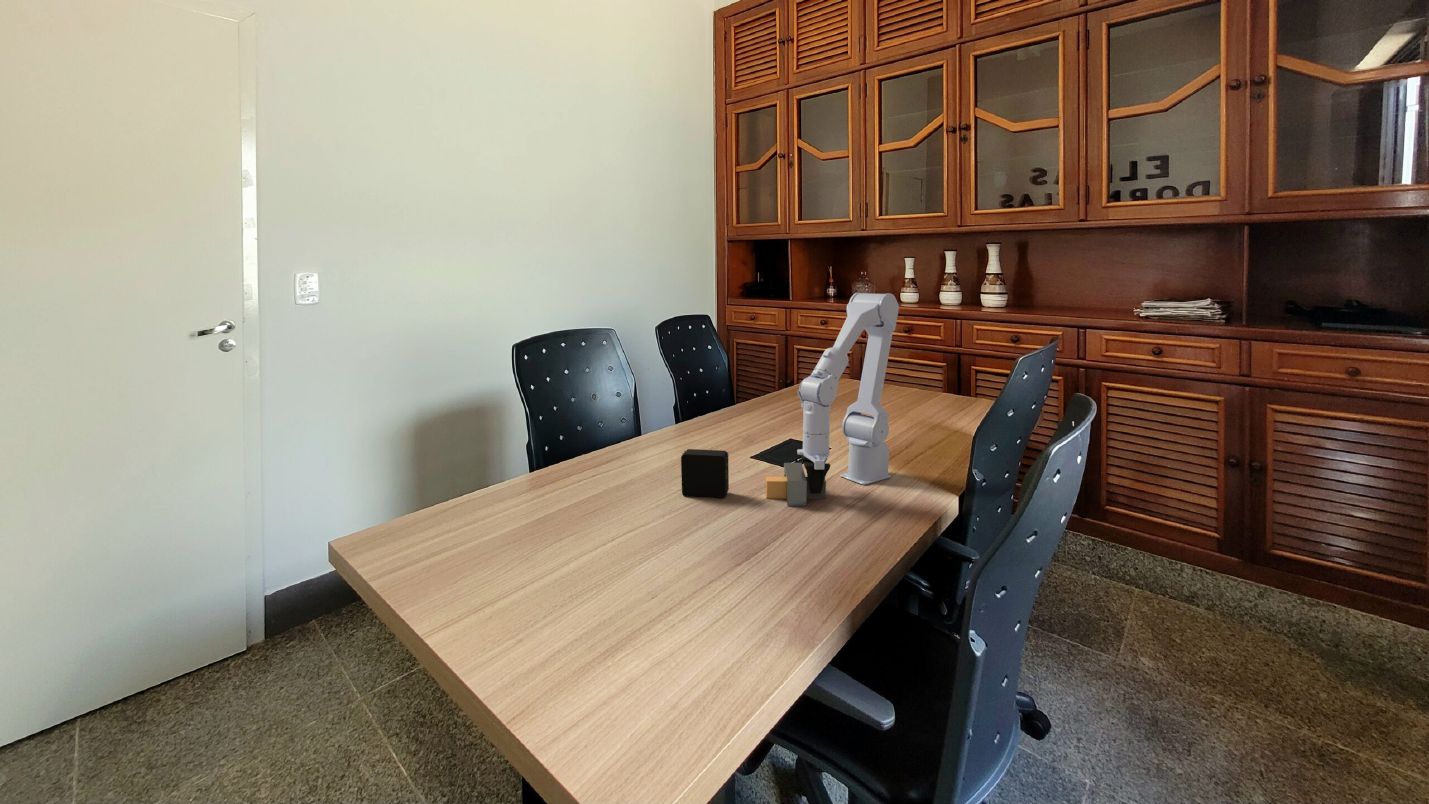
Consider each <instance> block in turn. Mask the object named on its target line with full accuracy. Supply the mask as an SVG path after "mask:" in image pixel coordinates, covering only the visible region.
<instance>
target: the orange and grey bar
mask: <svg viewBox="0 0 1429 804" xmlns="http://www.w3.org/2000/svg"><path fill="white" fill-rule="evenodd" d="M765 479H766V483H765V484H766V487H765V491H766V492H765V496H766V499H786V486H787V478H786V477H784V476H766V477H765ZM806 480H807V493H806V500H807V499H818V500H819V499H820V500H821V499H823V500H824V499H826V498H827V497H826V495H827V494H826V492H827V481H826V478H825V479H824V483H823V487H822V491H821V493H820V494H812V493H811V490H810V485H809V478H808V477H807V476H806Z"/></svg>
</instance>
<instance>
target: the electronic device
mask: <svg viewBox="0 0 1429 804" xmlns="http://www.w3.org/2000/svg"><path fill="white" fill-rule="evenodd" d="M680 467H681V468H680V471H681V474H680V475H681V494H682V496H683V497H686V498H699V499H700V498H703V499H717V500H722V499H725V498H726V496H727V494H728V492H729V489H730V488H729V478H730V477H729V474H730V473H729V471H730V470H729V452H727V451H726V450H721V449H720V450H719V449H718V450H716V449H715V450H714V449H695V448H688V449H686V450H684V451H683V452H682V453H681V457H680Z"/></svg>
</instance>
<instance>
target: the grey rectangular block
mask: <svg viewBox="0 0 1429 804" xmlns="http://www.w3.org/2000/svg"><path fill="white" fill-rule="evenodd" d="M783 477H786V478H787V486H786V498H785V500H786V505H787V507H807V499H806V493H807V480H806V477H807V475H806V474H805V470H804V465H803V464H802V462H784V463H783Z"/></svg>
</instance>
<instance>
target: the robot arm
mask: <svg viewBox="0 0 1429 804" xmlns="http://www.w3.org/2000/svg"><path fill="white" fill-rule="evenodd" d="M899 309H900V305H899V303H898V301H897V298H896V296H895V295H894V294H893V293H887V292H886V293H866V292H865V293H863V292H855V293H854V294H853V295H852V296H851V297H850V298H849V302H848V303H847V305H846V315H847V316H846V319H845V321H844V322H843V325H842V327H841V329H840V331H839V333H838V335H837V338H836V340H835V341H834V344H833V345H832V347H828V348H825V350H824V352H823V353H822V354H821V357H820V358H819V360H818V362H817V364H816V365H815V367H814V368H813V371H812V372H811V374H810V375H809V376H807V377H805V378H803V380H802V381H801V382H800V384H799V386H798V390H797V397H798V399H799V400H800V403H801V404H800V405H801V406H800V407H801V409H802V410H803V413H802V414H803V419H802V421H803V422H802V448H801V449H800V448H799V449H797V450H796V451H797V455H799V456H801V460H802V461H803V468H804V469H805V471H806V477H808V478H809V485H810V490H811V493H812V494H820V493H821V491H822V487H823V483H824V479H825V480H826V476H827V474H828V472H829V471H830V469H831V464H830V463H826V462H827V461H828V458H829V457H830V455H831V451H830V426H831V424H830V422H831V421H830V420H831V404H833V403H834V401H835V399H836V398H837V395H838V394H837V393H838V387H839V383H840V382H839V380H840V379H841V376H842V374H843V373H844V371H845V369H846V368H847V366H848V364H849V356H848V353H849V352H850V350H851V349H852V348H853V346H854V344H856V342H857V340H858V339H859V338H860V336H861V334H862V333H863V331H864V330H865V332H866V333H867V335H868V338H867V343H866V349H865V355H864V361H863V366H862V373H861V377H860V384H859V389H858V395H857V400H856V401H854V402H853V403H852V404H850V405H849V406H847V410H846V413H845V416H844V418H843V420H842V423H841V430H842V434H843V435H844V436H845V438H846V441H847V442H848V459H847V460H848V464H847V472H843V473H841V474H840V475H839V476H840V477H842V478H845V479H846V480H849V481H852V482H854V483H858V484H860V485H864V486H865V485H871V484H872V483H876V482H879V481H883V480H886V479H890V478H891V477H892V476H891V474H889V461H890V451H889V450H890V449H889V447H888V444H887V443H886V442H885V441H886V440H887V438H888V437H889V434H890V433H889V431H890V427H889V417H890V414H889V412H888V411H887V410H886V409H885V408H884V407H883V406H882V405H881V401H882V395H883V389H884V383H885V378H886V372H887V366H888V360H889V355H890V350H891V345H892V339H893V332H895V331H896V327H897V320H898V315H899ZM865 414H866V415H865Z"/></svg>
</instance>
